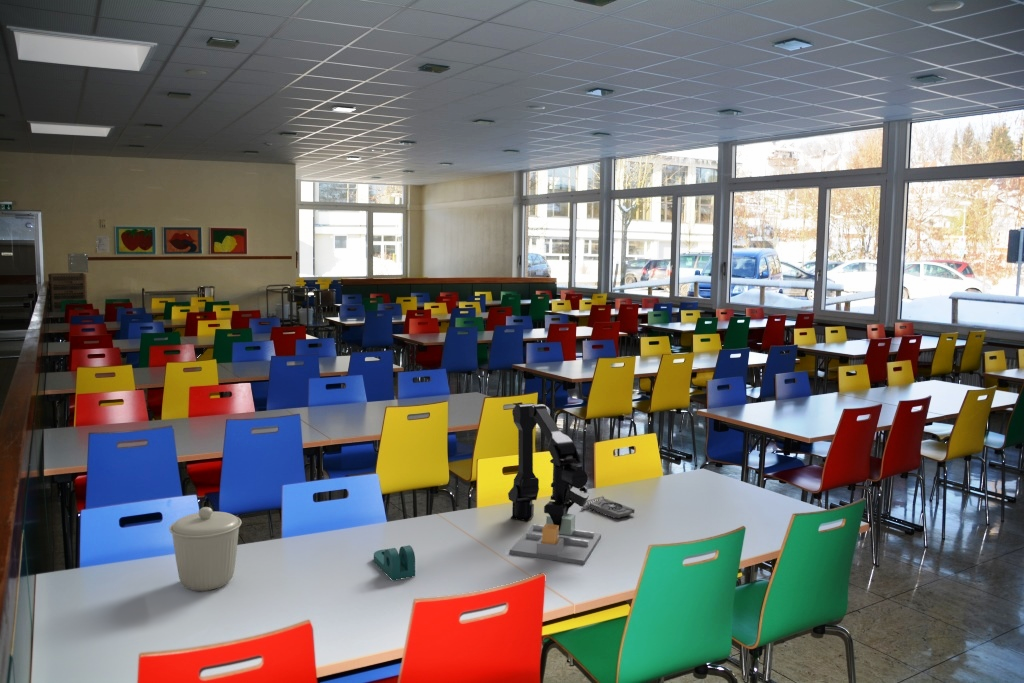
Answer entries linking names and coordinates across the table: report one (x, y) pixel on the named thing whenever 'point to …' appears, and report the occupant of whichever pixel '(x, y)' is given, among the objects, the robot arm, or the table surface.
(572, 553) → the rail board
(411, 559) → the bracket
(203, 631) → the table surface
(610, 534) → the table surface
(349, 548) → the table surface
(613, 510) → the graphics card
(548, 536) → the button
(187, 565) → the canister
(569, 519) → the block
